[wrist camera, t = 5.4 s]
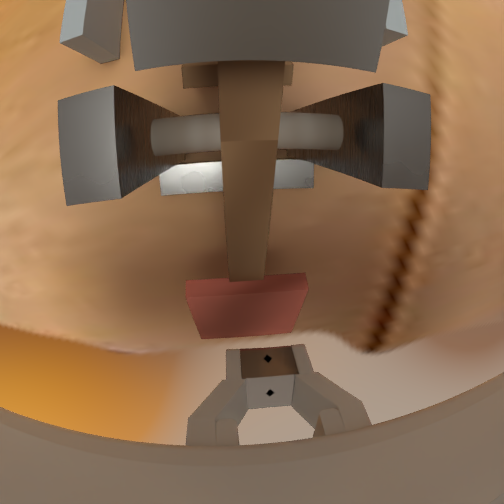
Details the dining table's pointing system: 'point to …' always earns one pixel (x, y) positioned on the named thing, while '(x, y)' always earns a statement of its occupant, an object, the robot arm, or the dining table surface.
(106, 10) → the grey u-shaped bracket
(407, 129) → the stand
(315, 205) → the dining table surface
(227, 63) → the lever
